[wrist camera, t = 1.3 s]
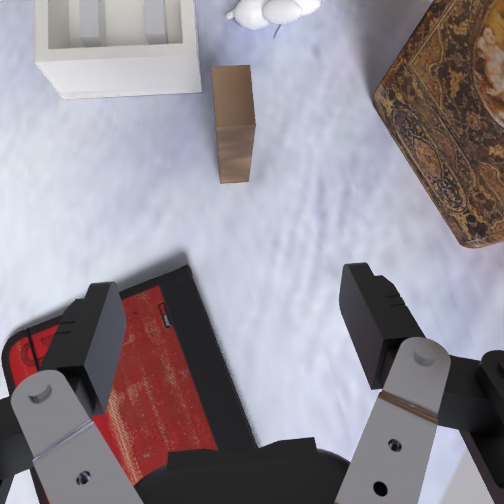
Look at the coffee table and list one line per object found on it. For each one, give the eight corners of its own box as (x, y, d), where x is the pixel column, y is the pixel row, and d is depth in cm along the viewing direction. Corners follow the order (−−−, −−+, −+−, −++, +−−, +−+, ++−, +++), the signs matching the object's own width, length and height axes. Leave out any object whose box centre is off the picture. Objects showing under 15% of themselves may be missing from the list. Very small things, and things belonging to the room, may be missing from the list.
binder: (187, 263, 30) (292, 537, 27) (191, 266, 32) (288, 519, 29) (-15, 342, 29) (74, 636, 26) (5, 340, 31) (88, 610, 28)
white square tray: (63, 99, 33) (34, 62, 28) (61, -22, 35) (34, -76, 30) (202, 92, 34) (197, 54, 29) (193, -26, 36) (187, -79, 31)
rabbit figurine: (243, -11, 36) (325, -22, 33) (249, 36, 39) (326, 30, 35) (210, 0, 32) (299, -11, 29) (219, 52, 35) (303, 47, 31)
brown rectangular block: (220, 183, 33) (215, 127, 23) (217, 139, 34) (211, 66, 24) (248, 181, 33) (255, 125, 23) (244, 138, 34) (249, 64, 24)
